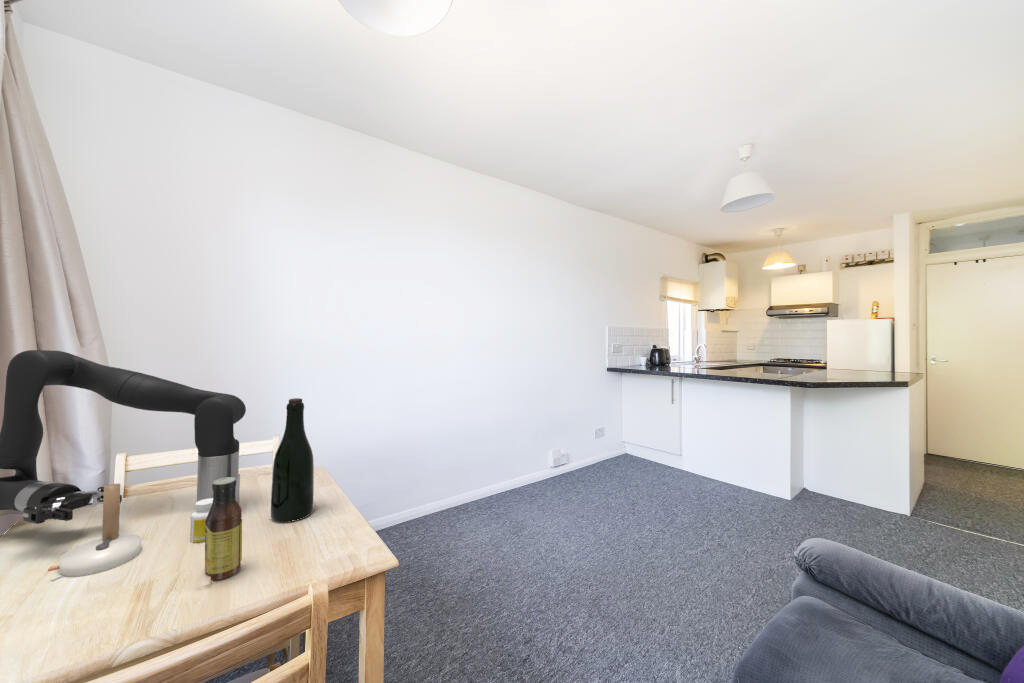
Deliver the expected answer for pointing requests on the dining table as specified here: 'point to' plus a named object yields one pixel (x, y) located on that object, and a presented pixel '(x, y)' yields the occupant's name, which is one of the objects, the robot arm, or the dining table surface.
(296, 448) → the dark green wine bottle
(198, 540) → the supplement bottle
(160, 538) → the dining table surface
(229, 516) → the sauce bottle
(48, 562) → the dining table surface
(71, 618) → the dining table surface
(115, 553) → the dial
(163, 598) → the dining table surface
